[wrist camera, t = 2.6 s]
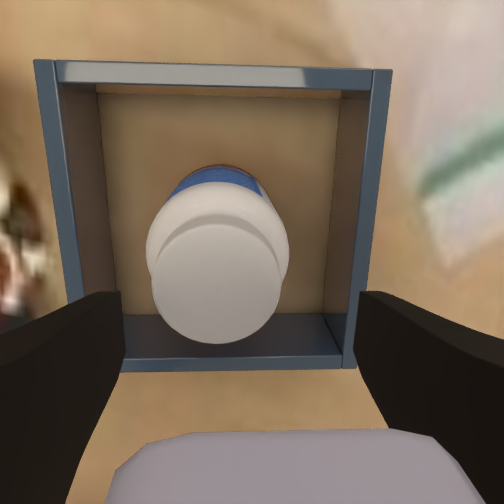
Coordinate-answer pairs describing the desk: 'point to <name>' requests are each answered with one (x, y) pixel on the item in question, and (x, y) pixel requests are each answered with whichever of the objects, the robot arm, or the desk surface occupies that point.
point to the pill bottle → (217, 256)
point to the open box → (216, 84)
